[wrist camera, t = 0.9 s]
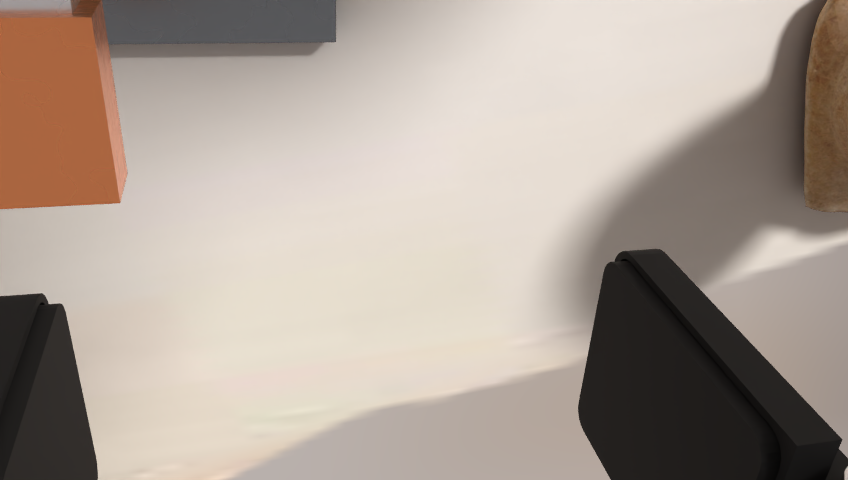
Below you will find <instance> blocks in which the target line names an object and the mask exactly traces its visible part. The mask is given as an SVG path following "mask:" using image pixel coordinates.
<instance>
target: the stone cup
mask: <svg viewBox="0 0 848 480" xmlns="http://www.w3.org/2000/svg"><path fill="white" fill-rule="evenodd" d="M804 196H805V203H806V207H809V208H811V209H815V210H819V211H824V212H848V0H827V2H826V4H825V5H824V7H823V8H822V10H821V12H820V14H819V17H818V19H817V22H816V26H815V30H814V34H813V38H812V42H811V48H810V54H809V60H808V66H807V76H806V95H805V123H804Z"/></svg>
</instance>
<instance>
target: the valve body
mask: <svg viewBox="0 0 848 480" xmlns="http://www.w3.org/2000/svg"><path fill="white" fill-rule="evenodd" d="M102 4H103V11H104V18H105V25H106V32H107V38H108V44H176V43H283V42H336V0H102Z"/></svg>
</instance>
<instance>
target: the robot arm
mask: <svg viewBox="0 0 848 480" xmlns="http://www.w3.org/2000/svg"><path fill="white" fill-rule="evenodd" d="M578 412H579V420H580V423H581V426H582V428H583V431H584V432H585V434H586V436H587V438H588V440H589V441H590V443H591V445H592V447H593V449H594V450H595V452H596V454H597V456H598V457H599V459H600V461H601V463H602V465H603V466H604V468H605V470H606V472H607V474H608V475H609V477H610V479H611V480H848V458H847V457H846V456H845V455H844V454H843V453H842V452H841V451H840V450H839V446H840V444H841V442H842V439H841V438H840V437H839V436H838V435H837V434H836V432H835V431H833V429H832V428H831V427H830V426H829V425H828V424H827V423H826V422H825V421H824V420H823V419H822V418H821V417H820V416H819V415H818V414H817V412H815V410H814V409H813V408H812V407H811V406H810V405H809V404H808V403H807V402H806V401H805V400H804V399H803V398H802V397H801V396H800V395H799V394H798V393H797V391H796V390H795V389H794V388H793V387H792V386H791V385H790V384H789V383H788V382H787V381H786V380H785V379H784V378H783V377H782V376H781V375H780V373H779V372H778V371H777V370H776V369H775V368H774V367H773V366H772V365H771V364H770V363H769V362H768V361H767V360H766V359H765V358H764V357H763V356H762V355H761V353H760V352H759V351H757V349H756V348H755V347H754V346H753V345H752V344H751V343H750V342H749V341H748V340H747V339H746V338H745V337H744V336H743V335H742V333H741V332H740V331H739V330H738V329H737V328H736V327H735V326H734V325H733V324H732V323H731V322H730V321H729V320H728V319H727V318H726V317H725V316H724V314H723V313H722V312H721V311H720V310H719V309H718V308H717V307H716V306H715V305H714V304H713V303H712V302H711V301H710V300H709V299H708V298H707V297H706V295H705V294H704V293H703V292H702V291H701V290H700V289H699V288H698V287H697V286H696V285H695V284H694V283H693V282H692V281H691V280H690V279H689V278H688V276H687V275H686V274H685V273H684V272H683V271H682V270H681V269H680V268H679V267H678V266H677V265H676V264H675V263H674V262H673V261H672V260H671V259H670V258H669V256H668V255H667V254H666V253H665V252H663V251H662V250H660V249H649V250H635V251H622V252H621V253H619V254H618V255H617V257H616V259H615V262H610V263H608V264H607V265H606V267H605V270H604V273H603V279H602V284H601V289H600V294H599V300H598V305H597V310H596V315H595V320H594V326H593V331H592V336H591V341H590V347H589V352H588V357H587V362H586V368H585V373H584V378H583V383H582V389H581V394H580V400H579V405H578ZM0 480H98V471H97V461H96V455H95V451H94V446H93V441H92V436H91V431H90V427H89V422H88V417H87V412H86V408H85V403H84V398H83V393H82V388H81V384H80V379H79V374H78V369H77V365H76V360H75V355H74V350H73V345H72V341H71V336H70V331H69V326H68V321H67V317H66V313H65V309H64V307H63V305H62V304H48V301H47V299H46V297H45V295H43V294H42V293H41V294H27V295H13V296H0Z"/></svg>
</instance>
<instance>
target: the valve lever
mask: <svg viewBox="0 0 848 480" xmlns="http://www.w3.org/2000/svg"><path fill="white" fill-rule="evenodd" d="M126 177H127V167H126V161H125V154H124V147H123V140H122V133H121V127H120V120H119V113H118V106H117V100H116V93H115V86H114V79H113V72H112V66H111V59H110V52H109V45H108V38H107V32H106V25H105V18H104V11H103V4H102V0H0V209H12V208H32V207H52V206H72V205H92V204H112V203H120V202H121V198H122V193H123V189H124V185H125V181H126Z"/></svg>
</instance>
